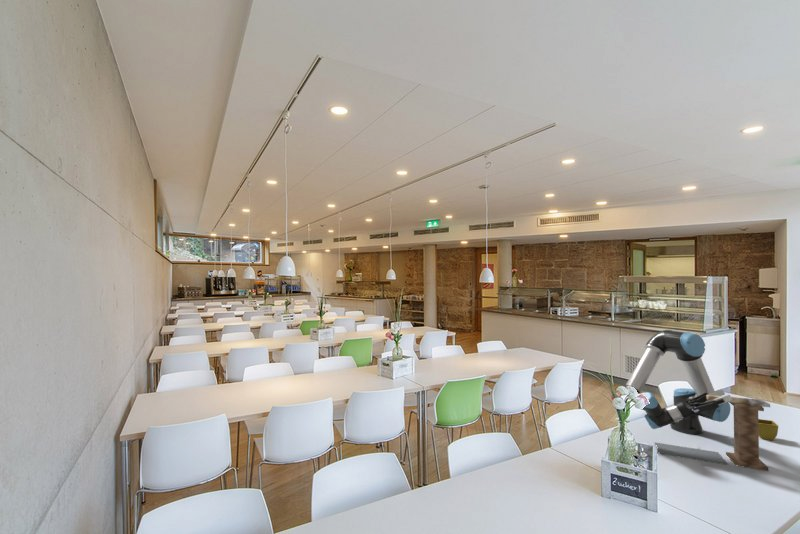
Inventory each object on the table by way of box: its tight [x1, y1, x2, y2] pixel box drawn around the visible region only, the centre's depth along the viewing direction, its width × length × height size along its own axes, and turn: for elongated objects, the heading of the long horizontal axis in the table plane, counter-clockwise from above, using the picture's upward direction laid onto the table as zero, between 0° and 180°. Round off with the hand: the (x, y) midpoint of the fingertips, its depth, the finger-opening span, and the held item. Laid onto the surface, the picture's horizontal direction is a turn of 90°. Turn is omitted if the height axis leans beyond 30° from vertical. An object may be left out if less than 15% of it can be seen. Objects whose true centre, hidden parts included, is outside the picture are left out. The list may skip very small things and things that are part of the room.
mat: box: [654, 441, 728, 465], centre depth 194 cm, size 27×13×1 cm, turn 66°
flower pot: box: [758, 418, 779, 441], centre depth 214 cm, size 9×9×9 cm
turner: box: [706, 395, 771, 408], centre depth 187 cm, size 23×7×2 cm, turn 71°
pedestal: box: [725, 402, 769, 472], centre depth 185 cm, size 12×12×28 cm
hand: (726, 394), depth 188 cm, fingers open, 9 cm apart
